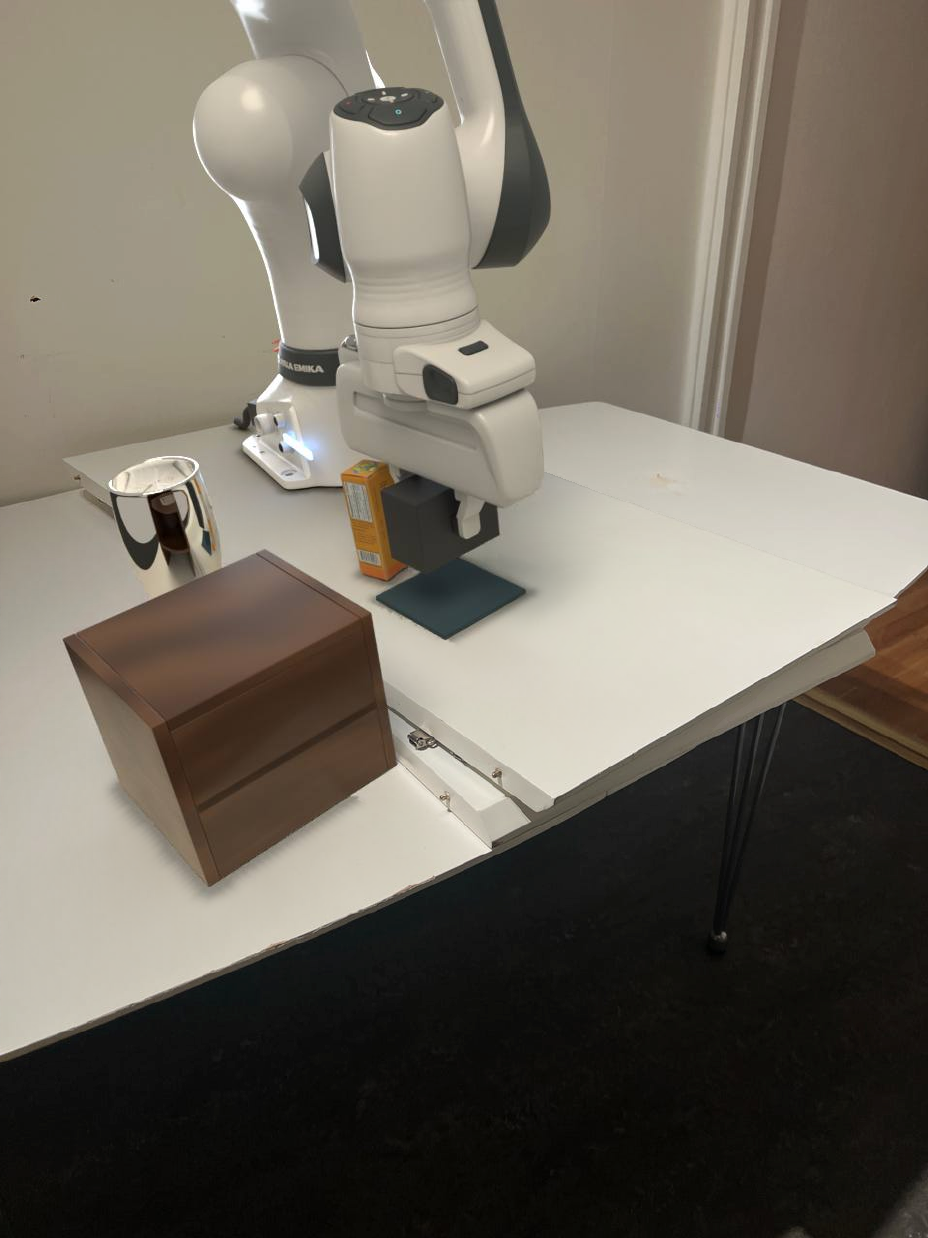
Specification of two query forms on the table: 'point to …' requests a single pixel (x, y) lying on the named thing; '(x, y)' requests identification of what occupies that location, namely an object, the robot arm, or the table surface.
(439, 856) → the table surface
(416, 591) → the pad
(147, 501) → the silver metal tumbler
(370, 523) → the supplement box
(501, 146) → the robot arm
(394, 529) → the dark gray rectangular box
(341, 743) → the wooden drawer unit
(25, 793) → the table surface
